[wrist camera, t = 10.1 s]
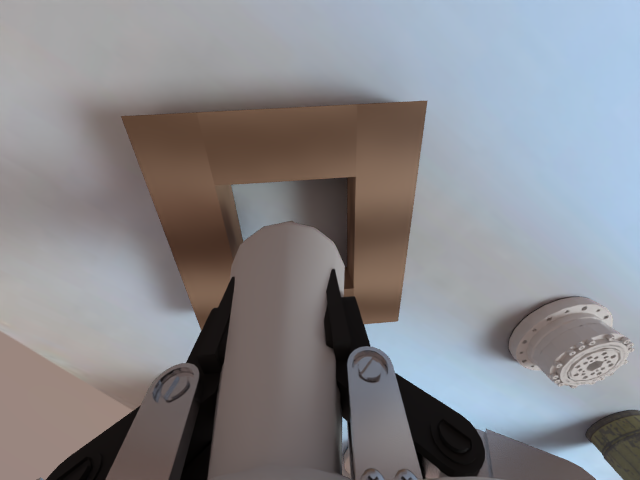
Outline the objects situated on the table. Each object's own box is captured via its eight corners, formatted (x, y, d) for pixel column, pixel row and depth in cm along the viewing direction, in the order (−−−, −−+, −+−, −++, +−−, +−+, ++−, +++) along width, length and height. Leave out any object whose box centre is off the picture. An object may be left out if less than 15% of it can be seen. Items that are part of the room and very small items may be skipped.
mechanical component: (582, 278, 23) (491, 332, 26) (639, 309, 20) (525, 369, 22) (608, 327, 27) (525, 370, 30) (660, 362, 23) (560, 408, 26)
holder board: (386, 297, 22) (397, 321, 20) (216, 311, 22) (204, 338, 19) (405, 104, 15) (427, 100, 13) (153, 117, 15) (121, 116, 12)
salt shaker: (284, 304, 16) (241, 760, 5) (221, 246, 14) (-174, 860, 2) (355, 258, 15) (540, 728, 3) (300, 187, 13) (281, 871, 1)
